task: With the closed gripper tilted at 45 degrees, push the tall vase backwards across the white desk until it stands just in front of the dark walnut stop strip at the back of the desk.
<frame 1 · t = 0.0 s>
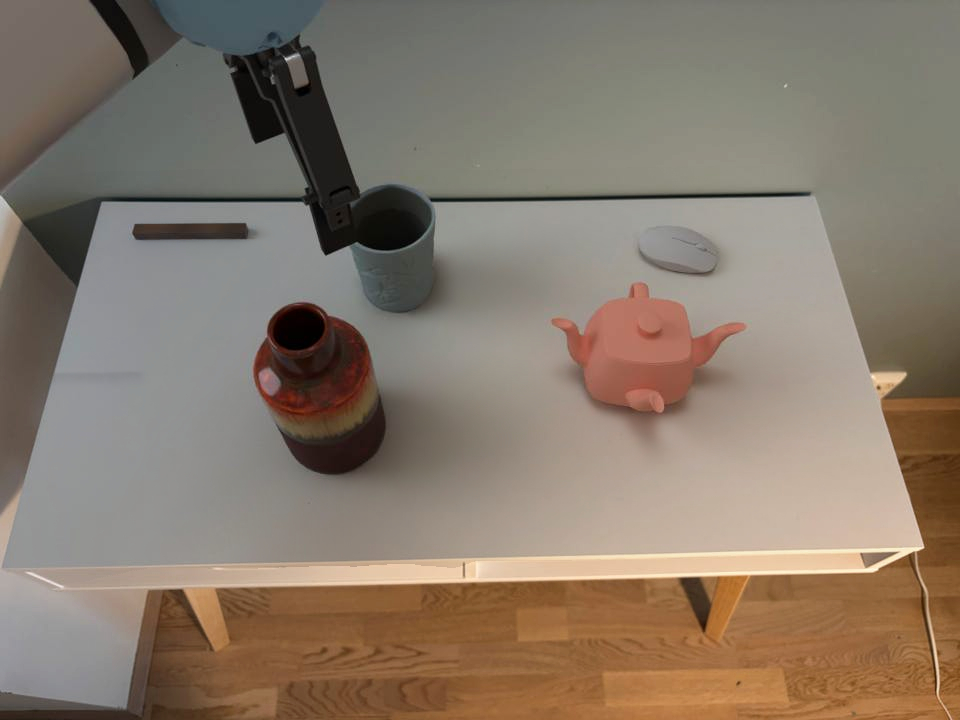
hand: (302, 188, 58), 29 cm above the table, tool pointing down, fingers open, 13 cm apart
teapot: (630, 384, 83), on the table
grey-blue ceramic planter: (398, 283, 90), on the table
computer mouse: (674, 255, 93), on the table
stop strip: (192, 234, 93), on the table
vase: (336, 429, 80), on the table
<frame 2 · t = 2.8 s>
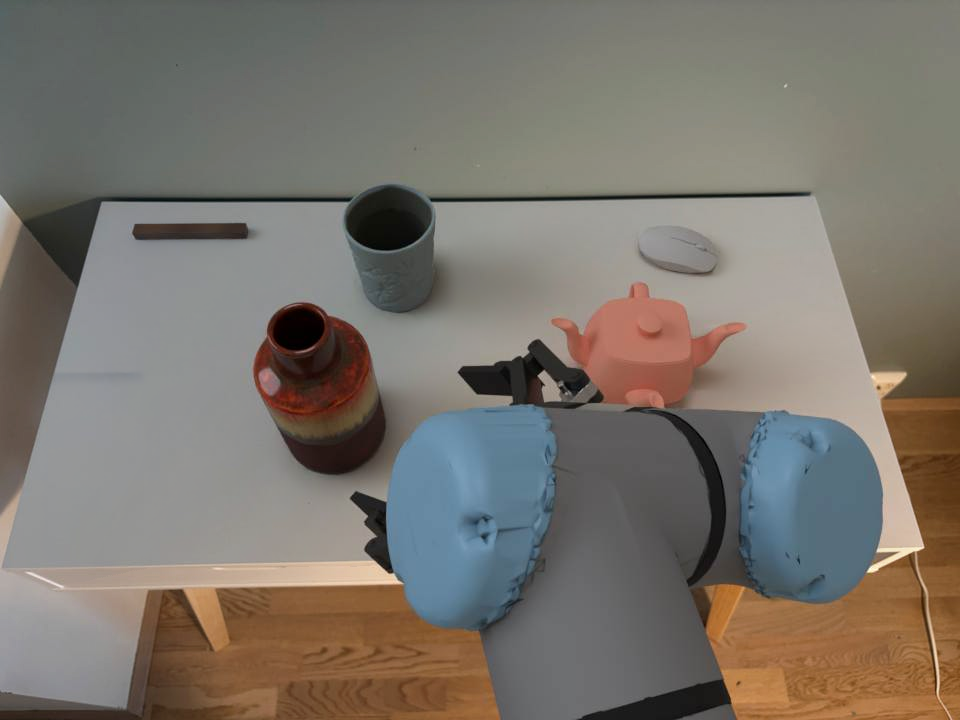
hand: (418, 440, 60), 18 cm above the table, tool tilted 40°, fingers open, 13 cm apart
nothing on the table moved.
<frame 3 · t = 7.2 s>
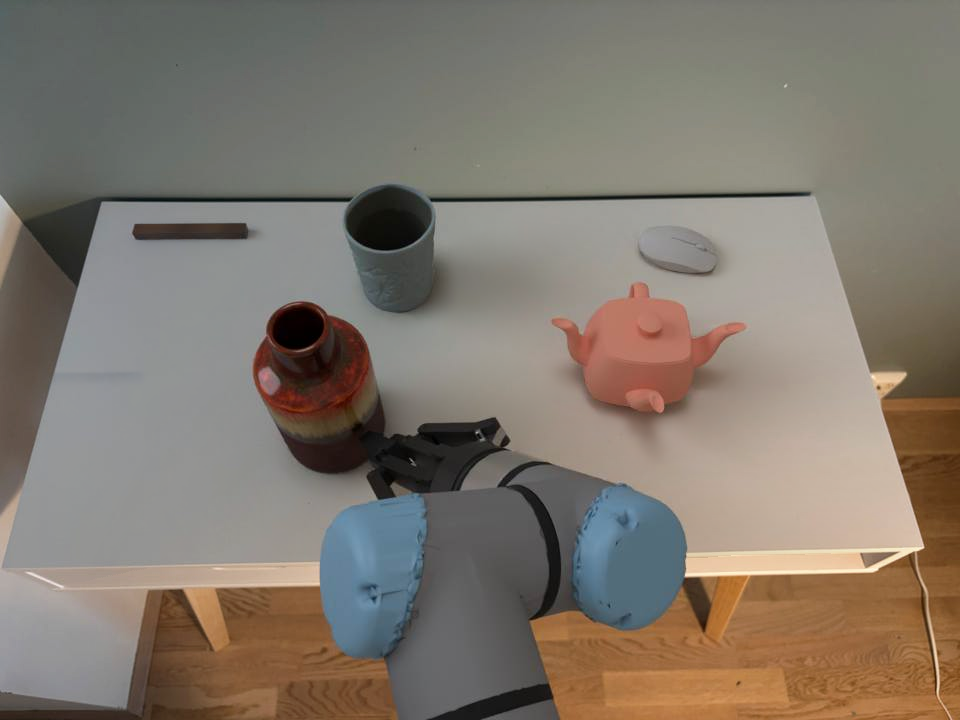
hand: (371, 445, 73), 6 cm above the table, tool tilted 45°, fingers closed
vase: (336, 428, 80), on the table, touching gripper
everything else where it was.
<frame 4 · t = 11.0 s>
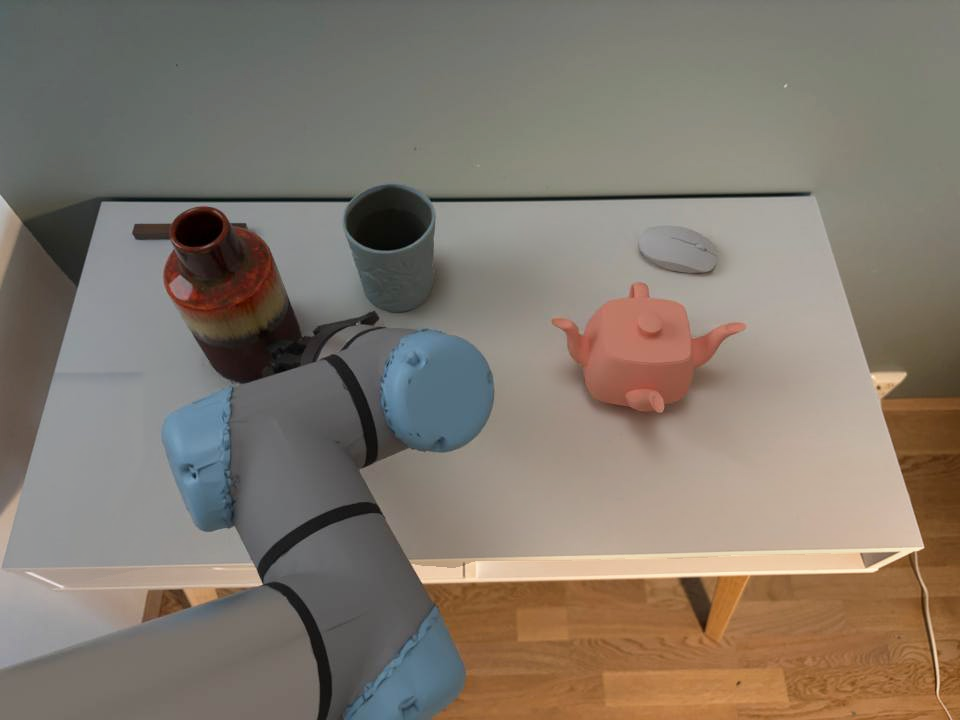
hand: (278, 352, 78), 6 cm above the table, tool tilted 45°, fingers closed
vase: (255, 344, 85), on the table, touching gripper
everything else where it was.
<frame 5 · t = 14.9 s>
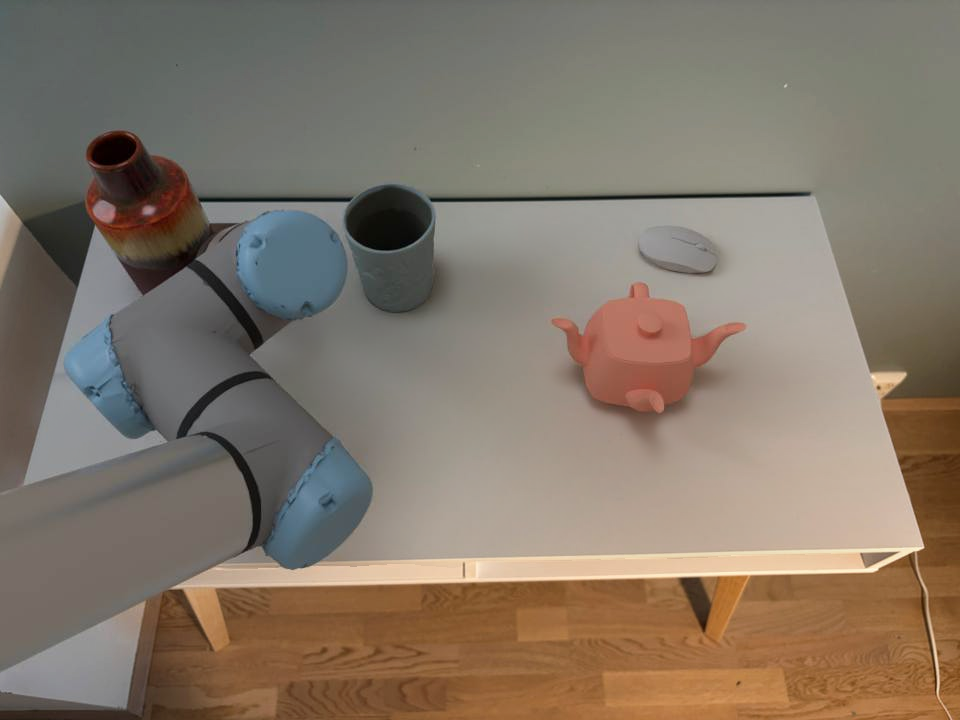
hand: (198, 275, 83), 6 cm above the table, tool tilted 45°, fingers closed
vase: (183, 274, 90), on the table, touching gripper
everything else where it was.
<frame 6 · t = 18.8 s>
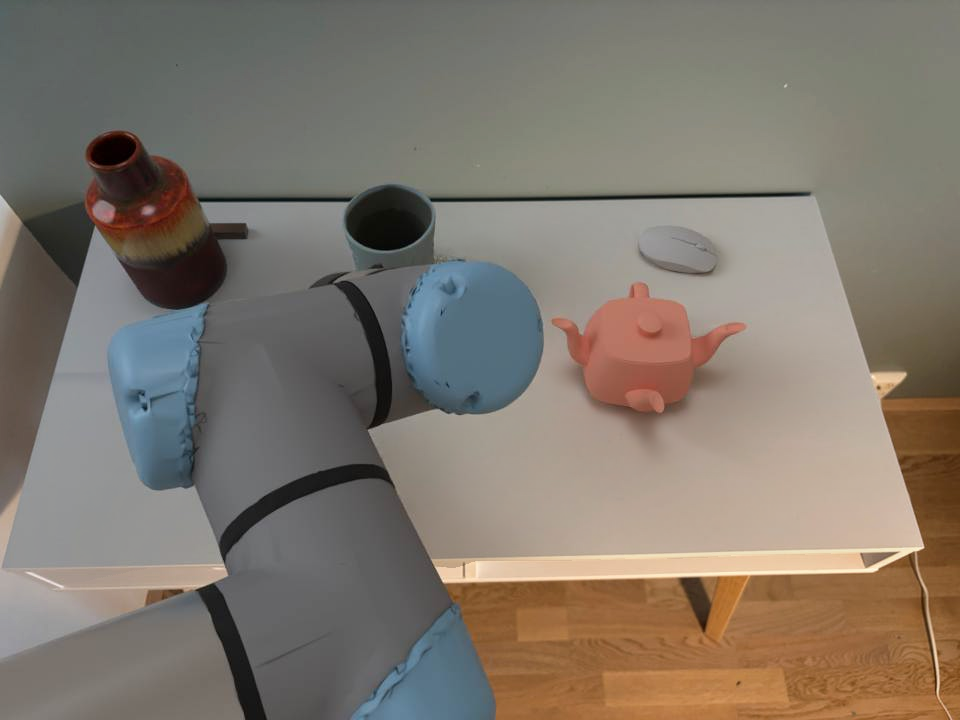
hand: (265, 320, 67), 16 cm above the table, tool tilted 45°, fingers closed
vase: (183, 274, 90), on the table
everything else where it was.
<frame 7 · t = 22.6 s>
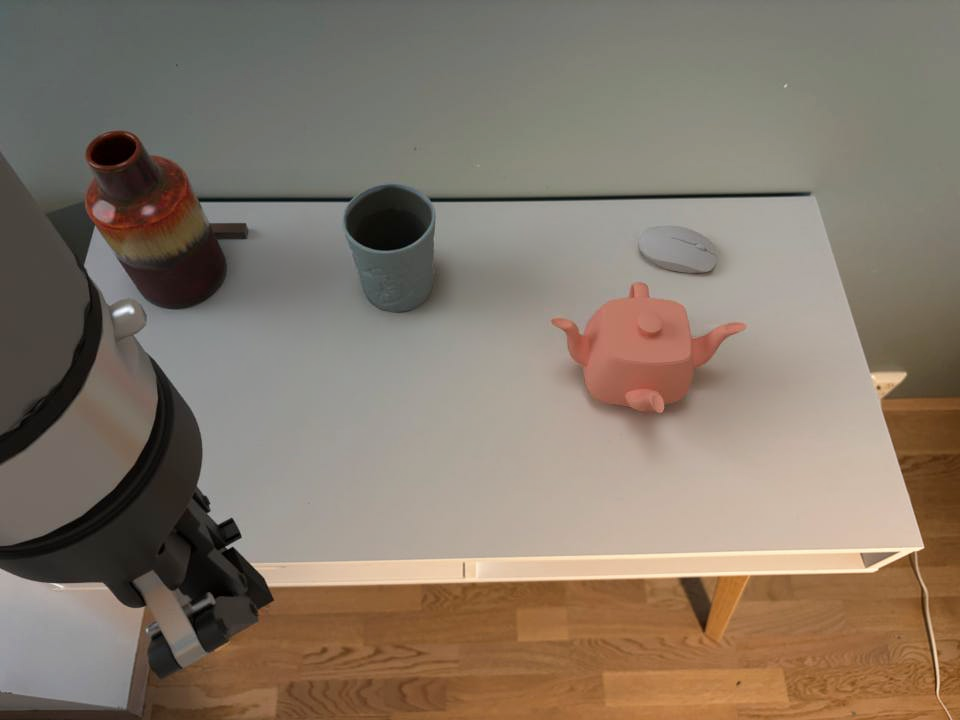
hand: (247, 601, 42), 29 cm above the table, tool pointing down, fingers closed
nothing on the table moved.
at the end: vase inside the target area on the table beside the stop strip (1.3 cm from its centre), on the table; vase tilted 0°; vase moved 29.5 cm from its start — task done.
